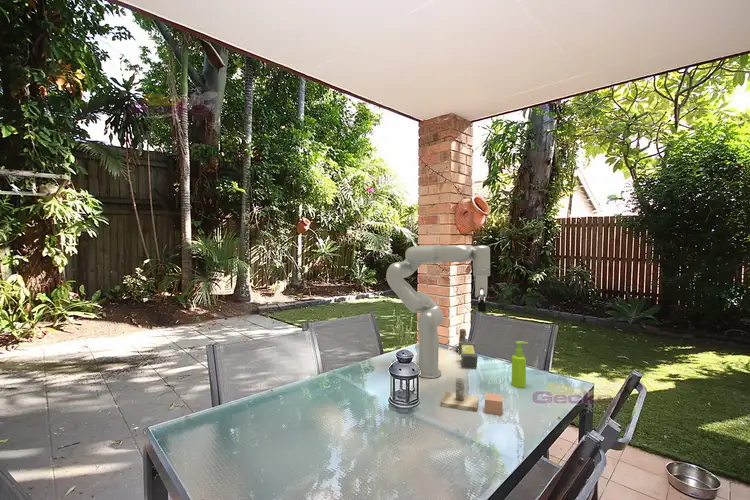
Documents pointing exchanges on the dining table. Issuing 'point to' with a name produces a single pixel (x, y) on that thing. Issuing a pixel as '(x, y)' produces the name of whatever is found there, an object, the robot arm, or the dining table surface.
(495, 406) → the peach cube
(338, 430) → the dining table surface
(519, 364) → the soap dispenser
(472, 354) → the grey and yellow block
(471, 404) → the board
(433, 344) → the robot arm
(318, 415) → the dining table surface
